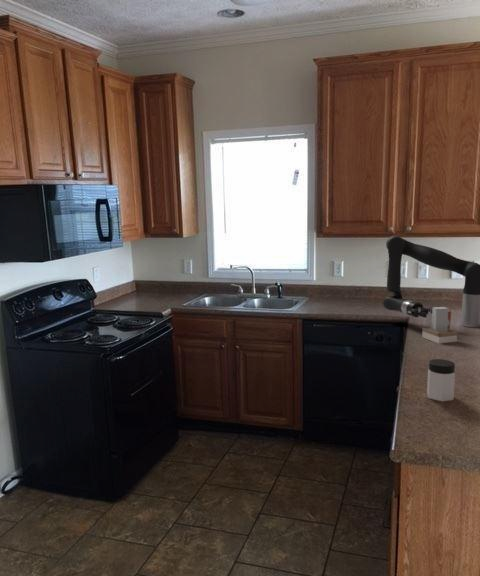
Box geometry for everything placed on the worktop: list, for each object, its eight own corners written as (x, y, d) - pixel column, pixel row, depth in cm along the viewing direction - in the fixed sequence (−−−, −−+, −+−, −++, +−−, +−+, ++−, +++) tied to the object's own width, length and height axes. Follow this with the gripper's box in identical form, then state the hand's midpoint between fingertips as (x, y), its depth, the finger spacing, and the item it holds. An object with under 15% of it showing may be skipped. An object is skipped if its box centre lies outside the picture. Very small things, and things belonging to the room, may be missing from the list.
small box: (436, 332, 256) (437, 311, 254) (429, 329, 262) (430, 309, 260) (450, 331, 258) (451, 310, 257) (443, 328, 264) (444, 308, 262)
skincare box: (442, 331, 245) (444, 306, 243) (447, 333, 241) (449, 308, 239) (430, 331, 245) (432, 306, 243) (435, 334, 240) (436, 308, 238)
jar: (458, 396, 172) (460, 362, 170) (448, 403, 166) (450, 368, 164) (431, 390, 178) (433, 357, 176) (421, 396, 172) (423, 362, 170)
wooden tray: (439, 335, 250) (439, 325, 249) (456, 341, 239) (457, 331, 238) (422, 337, 247) (422, 327, 246) (439, 343, 236) (439, 333, 235)
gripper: (400, 302, 258) (421, 308, 243) (424, 300, 263) (446, 306, 248) (400, 316, 260) (420, 323, 244) (423, 314, 264) (445, 321, 249)
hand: (433, 314), depth 246 cm, fingers open, 8 cm apart
